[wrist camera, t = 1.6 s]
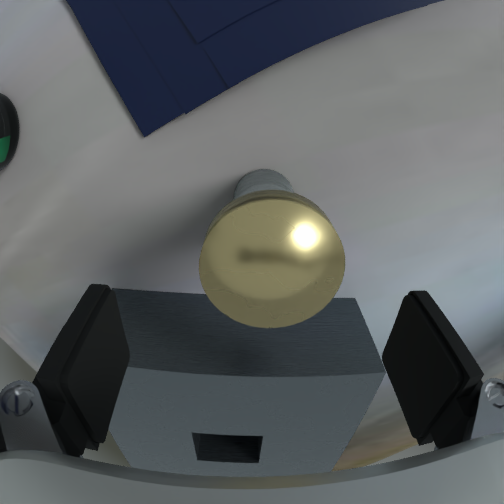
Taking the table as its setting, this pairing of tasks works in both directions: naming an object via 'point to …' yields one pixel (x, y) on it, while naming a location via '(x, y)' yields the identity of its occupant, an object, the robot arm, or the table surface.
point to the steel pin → (270, 255)
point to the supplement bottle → (8, 130)
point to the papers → (208, 43)
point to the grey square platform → (240, 388)
